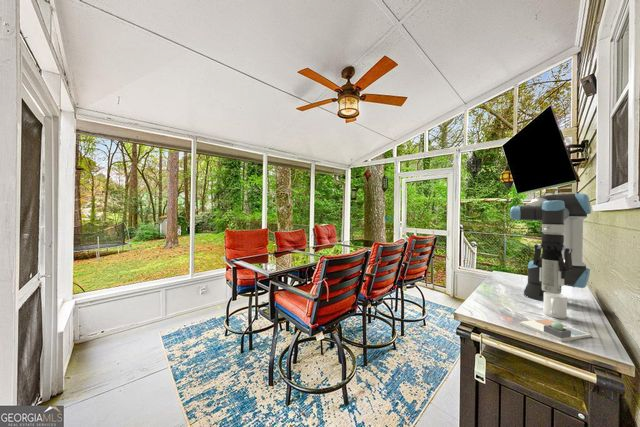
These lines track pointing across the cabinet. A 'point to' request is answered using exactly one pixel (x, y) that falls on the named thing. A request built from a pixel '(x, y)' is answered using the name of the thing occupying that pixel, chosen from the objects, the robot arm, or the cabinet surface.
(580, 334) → the picture board
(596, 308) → the cabinet surface
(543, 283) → the spray can
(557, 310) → the mug
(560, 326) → the button
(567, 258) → the robot arm
